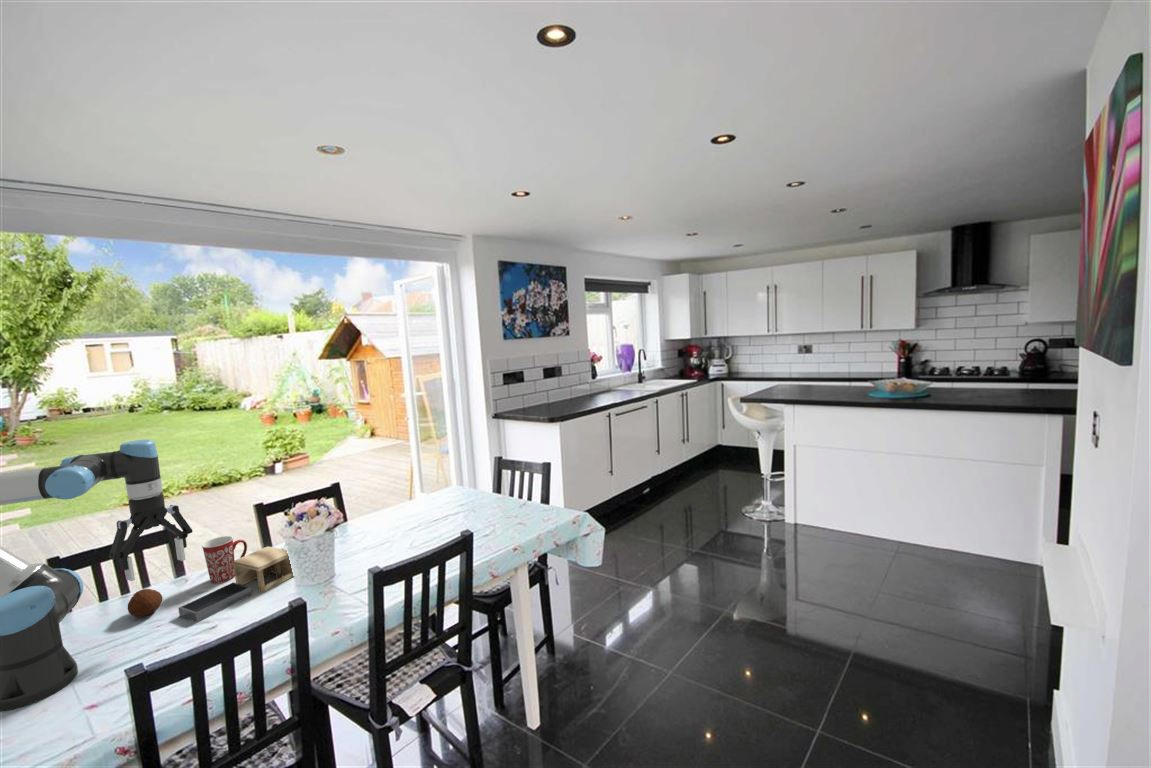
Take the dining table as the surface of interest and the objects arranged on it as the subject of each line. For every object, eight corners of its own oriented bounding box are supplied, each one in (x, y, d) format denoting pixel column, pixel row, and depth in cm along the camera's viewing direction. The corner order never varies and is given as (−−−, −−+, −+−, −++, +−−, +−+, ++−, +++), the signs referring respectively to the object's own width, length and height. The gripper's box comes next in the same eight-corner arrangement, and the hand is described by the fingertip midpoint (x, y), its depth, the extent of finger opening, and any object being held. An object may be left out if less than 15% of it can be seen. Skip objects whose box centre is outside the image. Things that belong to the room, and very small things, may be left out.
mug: (208, 588, 170) (202, 549, 168) (205, 578, 177) (200, 541, 175) (252, 574, 178) (247, 537, 176) (248, 566, 185) (243, 530, 183)
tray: (197, 623, 149) (195, 613, 149) (179, 617, 153) (178, 607, 153) (251, 596, 164) (250, 587, 163) (234, 591, 167) (233, 582, 167)
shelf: (261, 593, 164) (258, 567, 163) (236, 585, 170) (232, 561, 169) (295, 575, 175) (292, 551, 174) (270, 569, 181) (267, 546, 180)
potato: (156, 601, 163) (153, 579, 162) (170, 610, 157) (167, 587, 156) (122, 615, 155) (118, 592, 155) (136, 625, 150) (132, 601, 149)
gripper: (98, 512, 129) (111, 592, 132) (200, 483, 151) (210, 553, 153) (83, 509, 133) (96, 587, 135) (185, 481, 154) (195, 549, 157)
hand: (157, 569), depth 144 cm, fingers open, 12 cm apart
